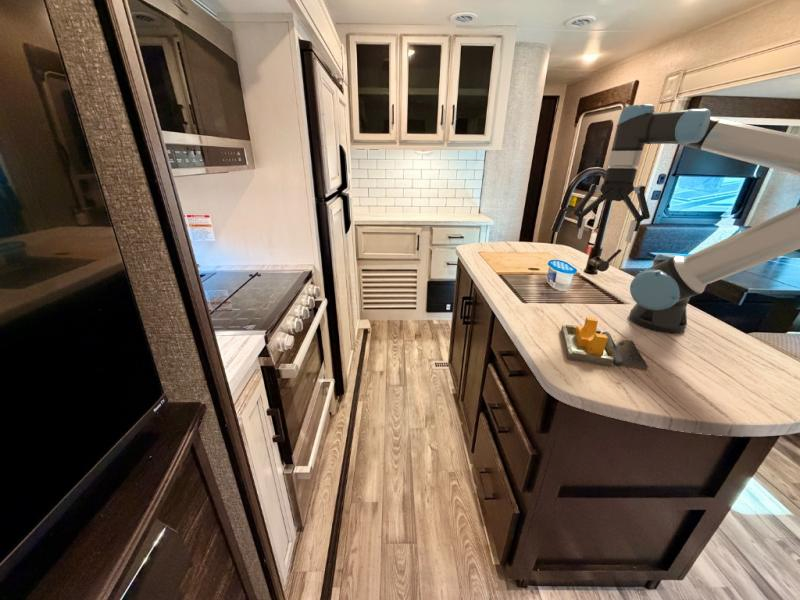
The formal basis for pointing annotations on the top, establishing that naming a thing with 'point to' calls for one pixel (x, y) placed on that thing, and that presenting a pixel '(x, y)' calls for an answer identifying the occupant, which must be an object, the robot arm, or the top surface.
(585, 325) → the orange stepped block
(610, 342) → the hinge base
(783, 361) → the top surface
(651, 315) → the robot arm
